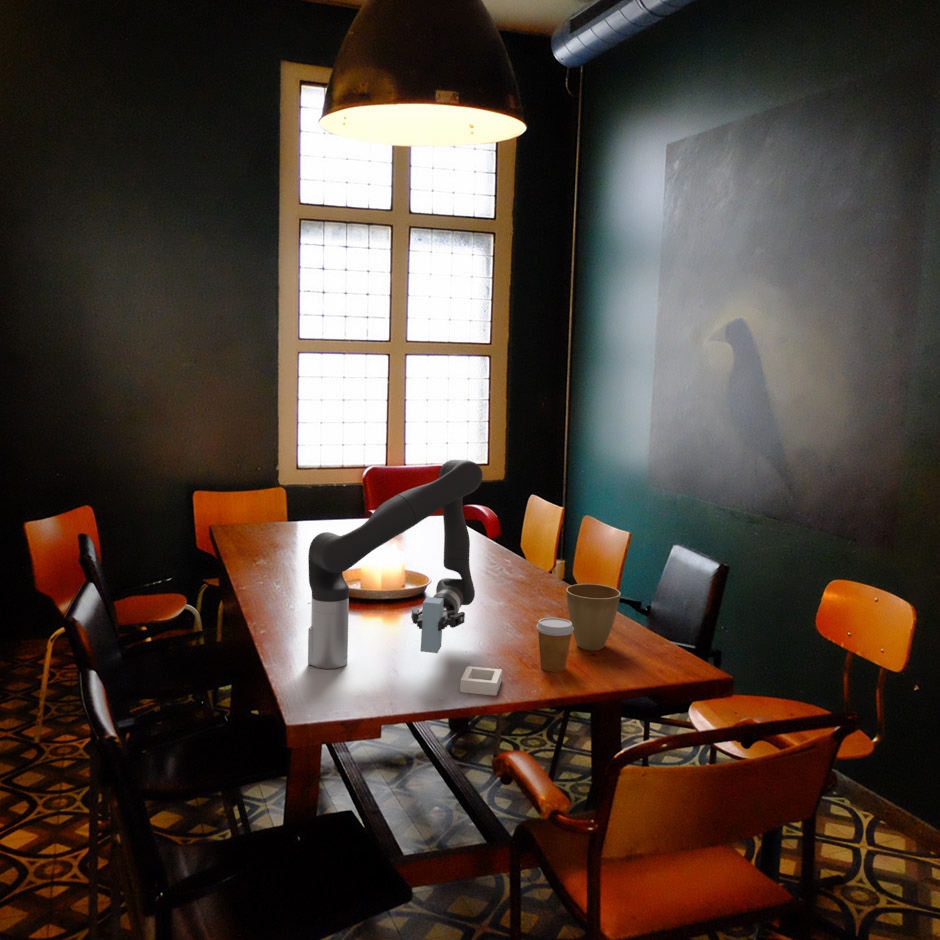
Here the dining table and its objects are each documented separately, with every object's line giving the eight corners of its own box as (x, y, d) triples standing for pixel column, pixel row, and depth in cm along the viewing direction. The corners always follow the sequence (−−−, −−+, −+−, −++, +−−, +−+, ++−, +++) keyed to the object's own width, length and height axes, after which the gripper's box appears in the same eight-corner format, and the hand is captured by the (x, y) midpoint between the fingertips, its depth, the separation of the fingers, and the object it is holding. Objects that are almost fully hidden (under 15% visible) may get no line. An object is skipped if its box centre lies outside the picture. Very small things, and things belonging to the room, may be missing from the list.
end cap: (460, 692, 205) (460, 679, 205) (466, 677, 215) (467, 666, 214) (496, 695, 204) (496, 683, 204) (501, 681, 213) (501, 669, 213)
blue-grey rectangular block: (420, 651, 207) (423, 602, 206) (425, 645, 212) (427, 596, 210) (437, 653, 206) (439, 603, 205) (441, 646, 211) (443, 598, 210)
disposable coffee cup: (568, 661, 230) (571, 617, 228) (574, 674, 220) (576, 628, 219) (532, 660, 229) (534, 616, 228) (536, 673, 220) (538, 627, 218)
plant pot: (554, 640, 247) (557, 585, 245) (600, 636, 252) (603, 582, 250) (578, 657, 233) (582, 599, 231) (627, 652, 239) (630, 595, 237)
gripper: (417, 590, 223) (401, 607, 206) (472, 595, 221) (460, 613, 204) (415, 618, 224) (399, 638, 207) (470, 624, 222) (458, 644, 205)
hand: (430, 625), depth 206 cm, fingers closed on blue-grey rectangular block, 4 cm apart
